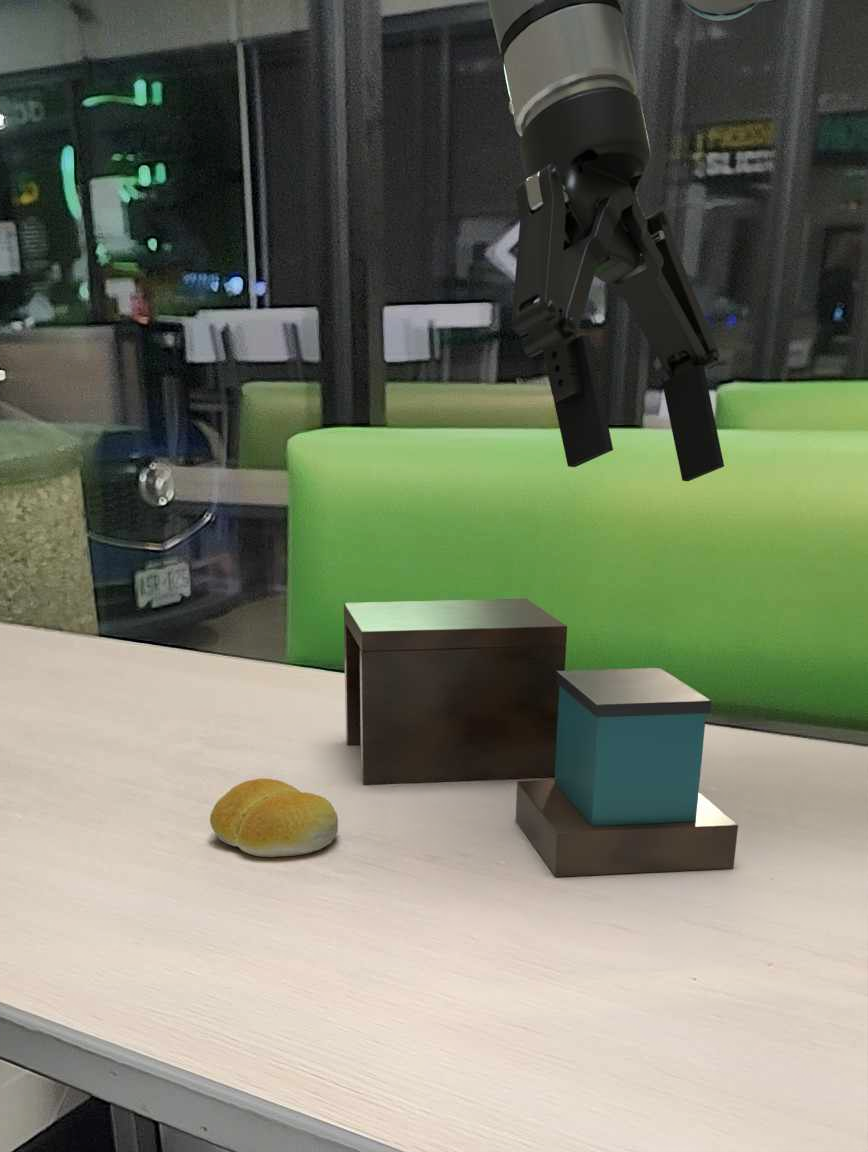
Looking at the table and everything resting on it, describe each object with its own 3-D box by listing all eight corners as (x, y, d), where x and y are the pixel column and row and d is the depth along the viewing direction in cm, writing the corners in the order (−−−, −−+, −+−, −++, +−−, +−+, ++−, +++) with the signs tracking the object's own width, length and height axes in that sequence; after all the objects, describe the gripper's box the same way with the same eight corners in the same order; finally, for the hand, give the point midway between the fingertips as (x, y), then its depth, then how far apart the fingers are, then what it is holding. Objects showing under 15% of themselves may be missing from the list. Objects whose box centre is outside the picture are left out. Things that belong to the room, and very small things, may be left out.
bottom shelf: (674, 813, 98) (678, 774, 97) (733, 868, 87) (738, 824, 86) (515, 820, 97) (516, 780, 95) (555, 877, 86) (557, 833, 85)
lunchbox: (651, 778, 96) (659, 667, 93) (700, 822, 86) (711, 700, 83) (550, 782, 95) (556, 670, 92) (589, 827, 86) (596, 704, 82)
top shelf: (521, 734, 120) (527, 598, 115) (559, 776, 107) (567, 625, 102) (345, 740, 118) (343, 602, 113) (363, 784, 105) (361, 631, 100)
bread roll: (273, 869, 87) (271, 811, 86) (193, 837, 93) (190, 783, 92) (365, 840, 93) (365, 785, 91) (284, 813, 99) (282, 760, 97)
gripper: (632, 194, 92) (694, 498, 94) (399, 97, 74) (481, 475, 76) (729, 136, 87) (794, 458, 88) (504, 16, 69) (590, 423, 70)
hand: (650, 467), depth 82 cm, fingers open, 13 cm apart
